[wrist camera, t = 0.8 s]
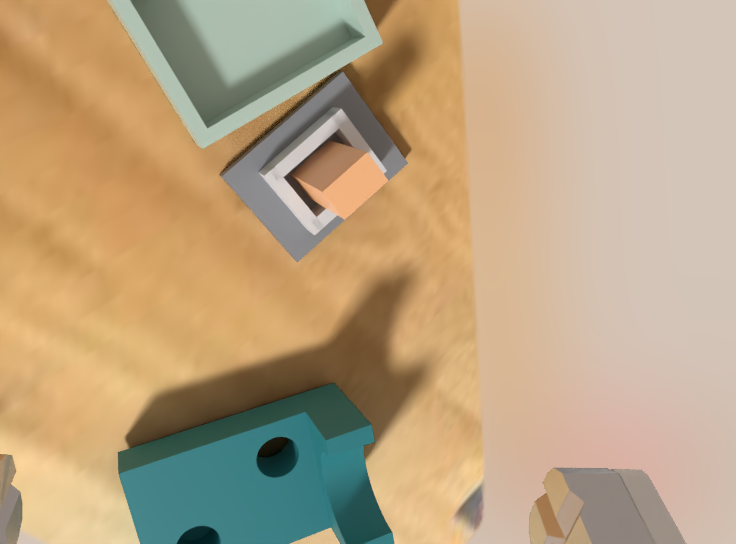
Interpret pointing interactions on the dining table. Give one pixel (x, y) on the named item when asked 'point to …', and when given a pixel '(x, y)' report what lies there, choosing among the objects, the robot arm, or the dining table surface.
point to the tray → (242, 53)
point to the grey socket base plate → (293, 147)
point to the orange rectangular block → (339, 178)
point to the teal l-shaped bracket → (258, 477)
